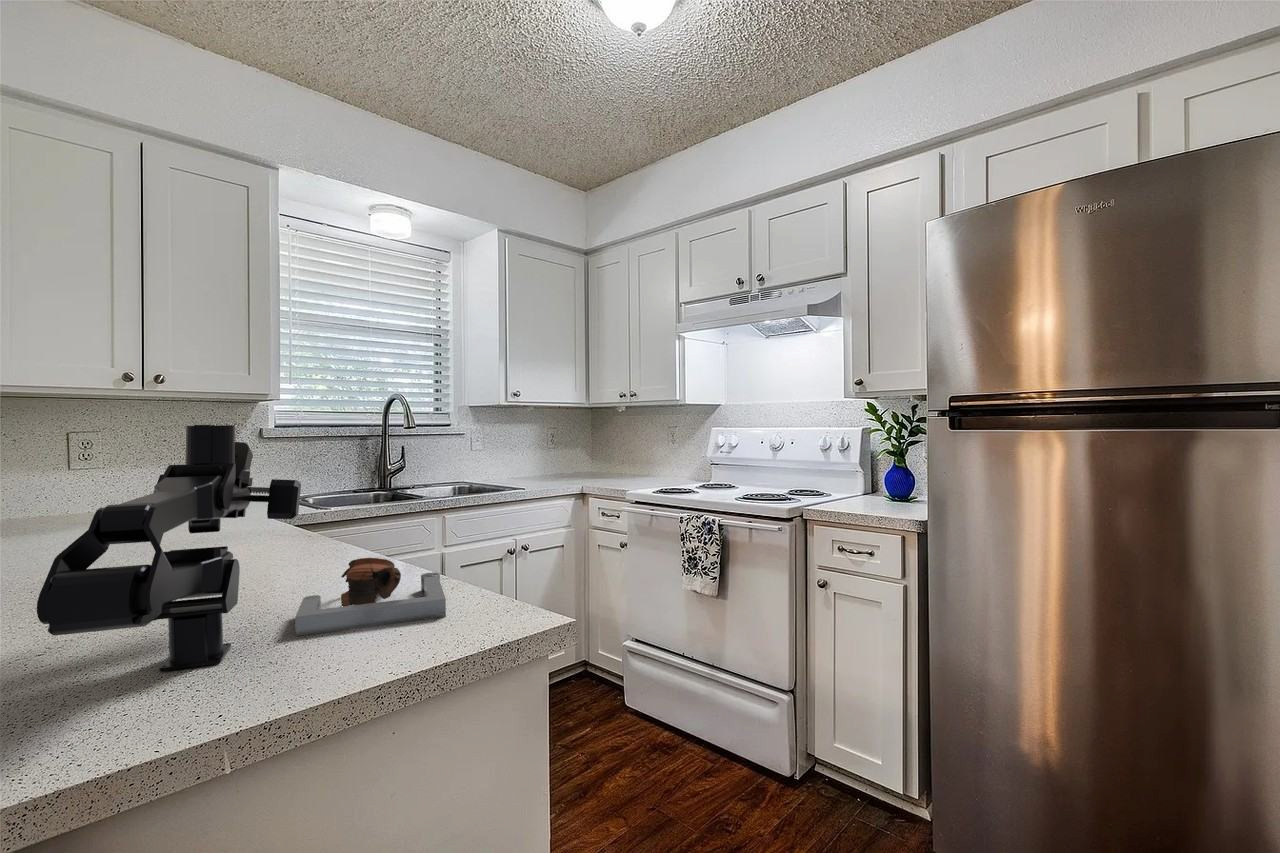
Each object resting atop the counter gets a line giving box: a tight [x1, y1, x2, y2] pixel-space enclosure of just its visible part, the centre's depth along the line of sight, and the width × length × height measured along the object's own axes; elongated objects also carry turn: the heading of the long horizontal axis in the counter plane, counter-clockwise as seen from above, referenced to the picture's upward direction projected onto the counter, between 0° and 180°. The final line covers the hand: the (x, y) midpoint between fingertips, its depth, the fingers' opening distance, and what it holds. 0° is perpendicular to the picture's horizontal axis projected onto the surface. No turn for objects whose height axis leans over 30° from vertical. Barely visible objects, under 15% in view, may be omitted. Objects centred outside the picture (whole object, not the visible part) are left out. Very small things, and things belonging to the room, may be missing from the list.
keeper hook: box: [294, 572, 447, 637], centre depth 101 cm, size 18×21×3 cm
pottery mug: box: [340, 557, 402, 607], centre depth 106 cm, size 12×10×8 cm
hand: (245, 497), depth 104 cm, fingers open, 9 cm apart
